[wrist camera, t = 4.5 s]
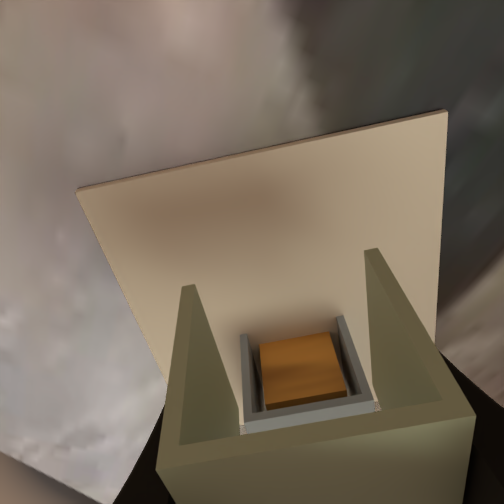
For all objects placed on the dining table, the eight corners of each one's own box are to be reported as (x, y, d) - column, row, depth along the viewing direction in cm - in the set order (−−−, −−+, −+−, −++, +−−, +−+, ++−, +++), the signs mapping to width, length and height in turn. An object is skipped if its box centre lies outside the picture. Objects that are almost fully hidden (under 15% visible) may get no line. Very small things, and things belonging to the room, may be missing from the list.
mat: (429, 386, 27) (431, 391, 27) (191, 428, 28) (191, 433, 28) (443, 109, 17) (448, 111, 17) (77, 188, 18) (74, 192, 18)
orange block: (335, 377, 25) (352, 437, 22) (271, 389, 26) (278, 450, 22) (328, 331, 23) (346, 389, 20) (259, 344, 23) (264, 404, 20)
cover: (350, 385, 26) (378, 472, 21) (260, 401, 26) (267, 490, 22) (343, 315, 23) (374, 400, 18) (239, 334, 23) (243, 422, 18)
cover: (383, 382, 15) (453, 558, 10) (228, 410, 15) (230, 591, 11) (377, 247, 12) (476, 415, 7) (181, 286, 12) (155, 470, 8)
